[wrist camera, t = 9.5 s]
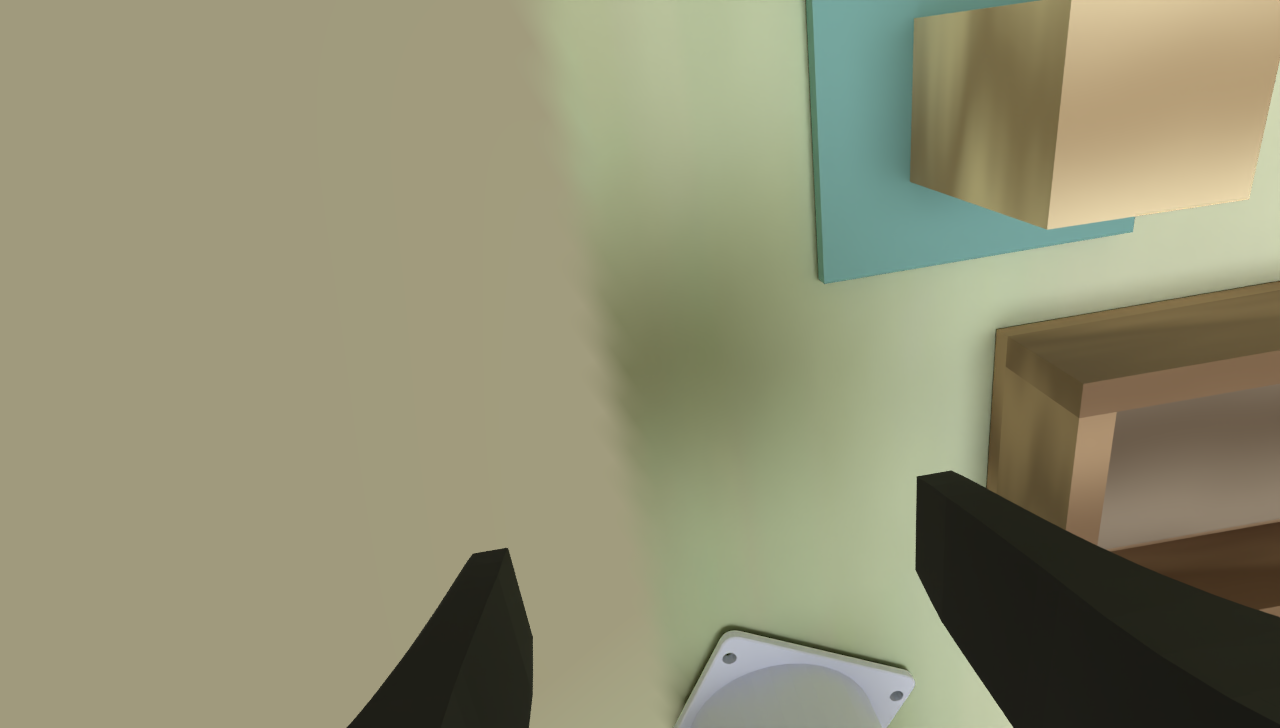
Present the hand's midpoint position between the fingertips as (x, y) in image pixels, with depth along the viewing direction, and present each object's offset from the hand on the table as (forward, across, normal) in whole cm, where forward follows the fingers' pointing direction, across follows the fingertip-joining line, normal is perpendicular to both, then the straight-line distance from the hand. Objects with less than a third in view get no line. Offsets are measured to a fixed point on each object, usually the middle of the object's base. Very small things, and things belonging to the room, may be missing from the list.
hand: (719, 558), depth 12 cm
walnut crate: (+9, -17, +6) cm, 21 cm away
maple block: (+9, -9, -6) cm, 14 cm away
